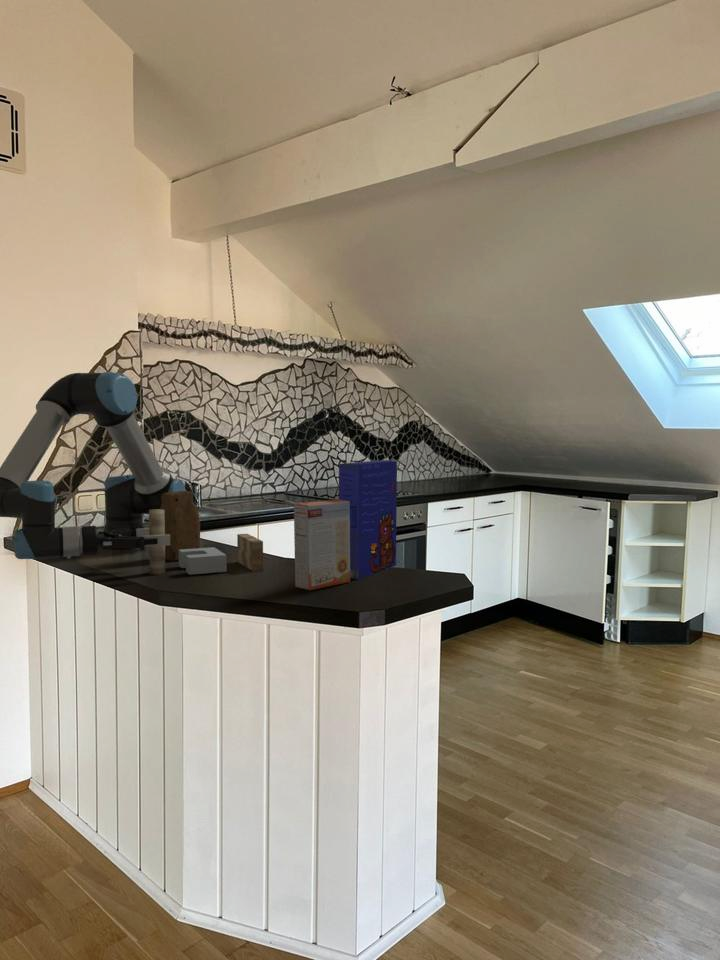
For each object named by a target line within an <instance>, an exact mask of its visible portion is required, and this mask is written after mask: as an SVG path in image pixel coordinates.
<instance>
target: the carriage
mask: <svg viewBox="0 0 720 960" xmlns="http://www.w3.org/2000/svg"><path fill="white" fill-rule="evenodd" d="M227 563H228V562H227V554H225V553H224V552H223V551H221V550H219V549H217V548H216V547H200V548H196V549H181V550H179V561H178V566H179V567H180V568H182V569H185V572H186V574H188V575H191V576H192V575H201V574H203V575H204V574H211V573H212V574H213V573H224V572H227V570H228V569H227V567H228V565H227Z"/></svg>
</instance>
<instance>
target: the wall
mask: <svg viewBox="0 0 720 960" xmlns="http://www.w3.org/2000/svg"><path fill="white" fill-rule="evenodd" d="M236 538H237V541H236V542H237V547H236V548H237V549H236V551H237V563H239V564H240V565H242V566H243V567H245V568H247V569H248V570H250V571H252V572H257V571H264V541H263V540H261V539H260V538H256V537H255V536H254V535H251V534H249V533H238V534H237V537H236Z"/></svg>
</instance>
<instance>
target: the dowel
mask: <svg viewBox="0 0 720 960" xmlns="http://www.w3.org/2000/svg"><path fill="white" fill-rule="evenodd" d="M148 528H149V536H152V535H165V510H163V509H152V510H149V514H148ZM152 574H153V575H154V576H157V575H165V574H166V559H165V546H150V547H149V575H152Z"/></svg>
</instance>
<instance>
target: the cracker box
mask: <svg viewBox="0 0 720 960" xmlns="http://www.w3.org/2000/svg"><path fill="white" fill-rule="evenodd" d="M293 526H294V527H293V529H294V530H293V531H294V533H293V534H294V585H295V586H294V587H295V588H297V589H302V590H306V591H314V590H319V589H322V588H323V589H324V588H327V587H333V586H337V585H342V584H346V583H350V582H351V579H350V502H349V501H343V500H339V499H332V500H331V499H329V500H319V501H309V502H301V503H295V504H293Z"/></svg>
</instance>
